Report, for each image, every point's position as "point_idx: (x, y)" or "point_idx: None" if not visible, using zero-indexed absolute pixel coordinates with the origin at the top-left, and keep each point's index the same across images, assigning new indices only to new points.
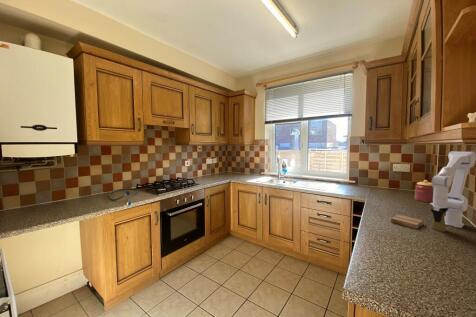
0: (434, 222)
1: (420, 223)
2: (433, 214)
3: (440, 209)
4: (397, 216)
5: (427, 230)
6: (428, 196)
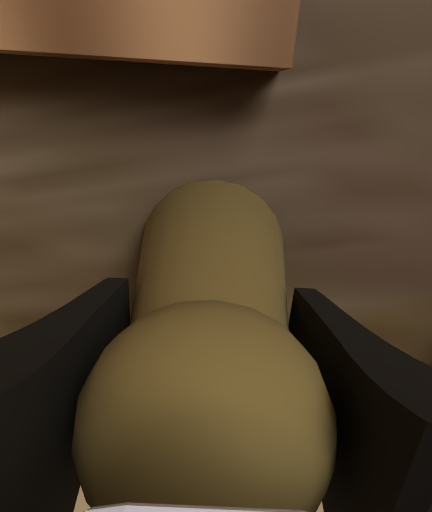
0: (145, 257)
1: (132, 59)
2: (3, 343)
3: (361, 506)
4: None
5: (39, 170)
6: None
